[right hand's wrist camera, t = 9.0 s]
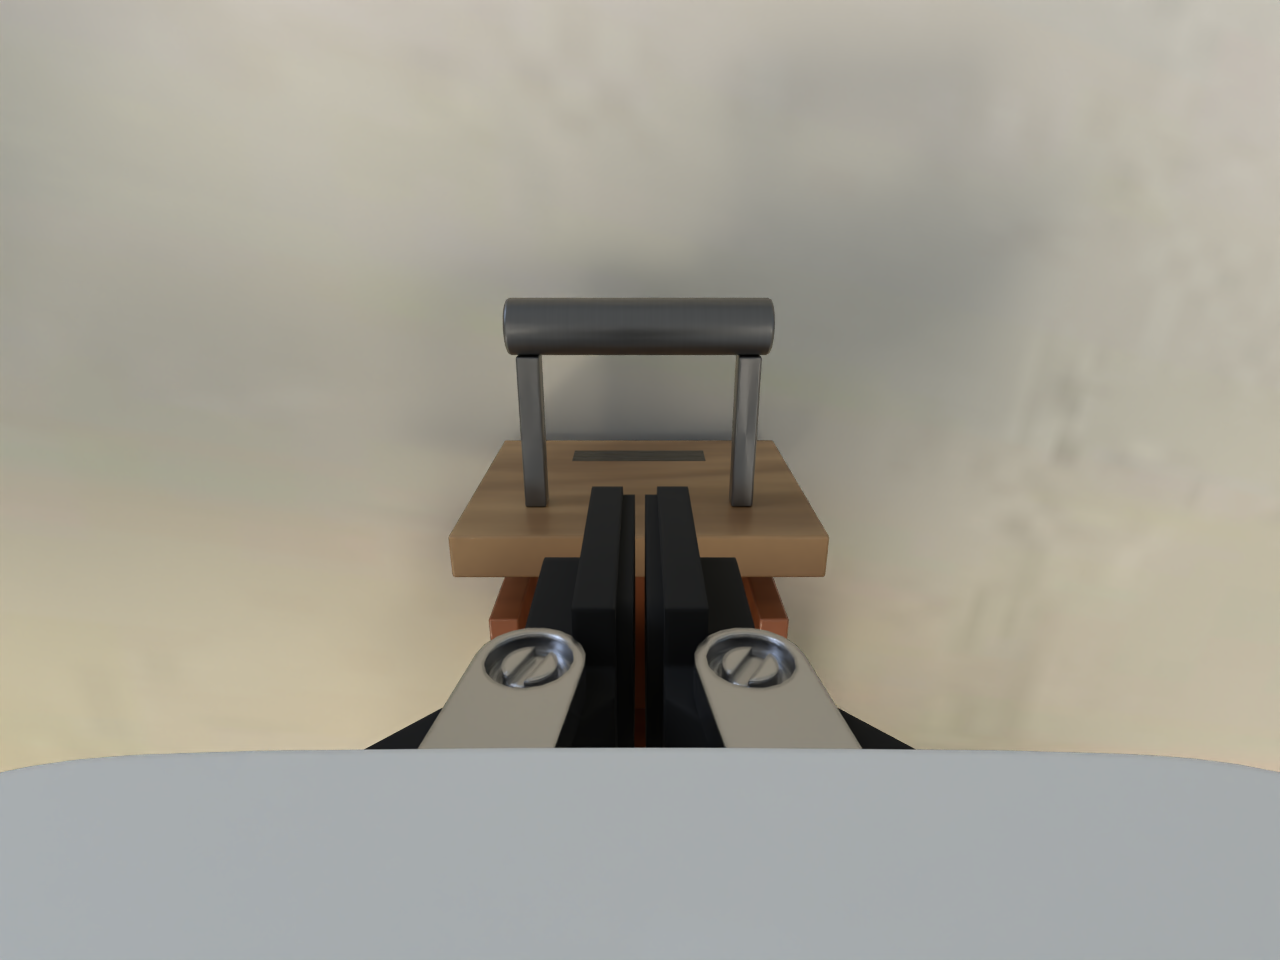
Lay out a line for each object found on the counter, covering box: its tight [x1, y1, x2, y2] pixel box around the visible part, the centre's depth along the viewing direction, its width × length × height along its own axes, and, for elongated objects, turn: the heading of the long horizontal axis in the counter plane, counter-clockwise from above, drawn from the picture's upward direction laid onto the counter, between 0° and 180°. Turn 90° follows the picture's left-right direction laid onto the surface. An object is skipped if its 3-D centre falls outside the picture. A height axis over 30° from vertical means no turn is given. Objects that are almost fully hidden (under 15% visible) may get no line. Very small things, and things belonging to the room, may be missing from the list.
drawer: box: [449, 298, 829, 748], centre depth 22 cm, size 17×10×8 cm, turn 0°
